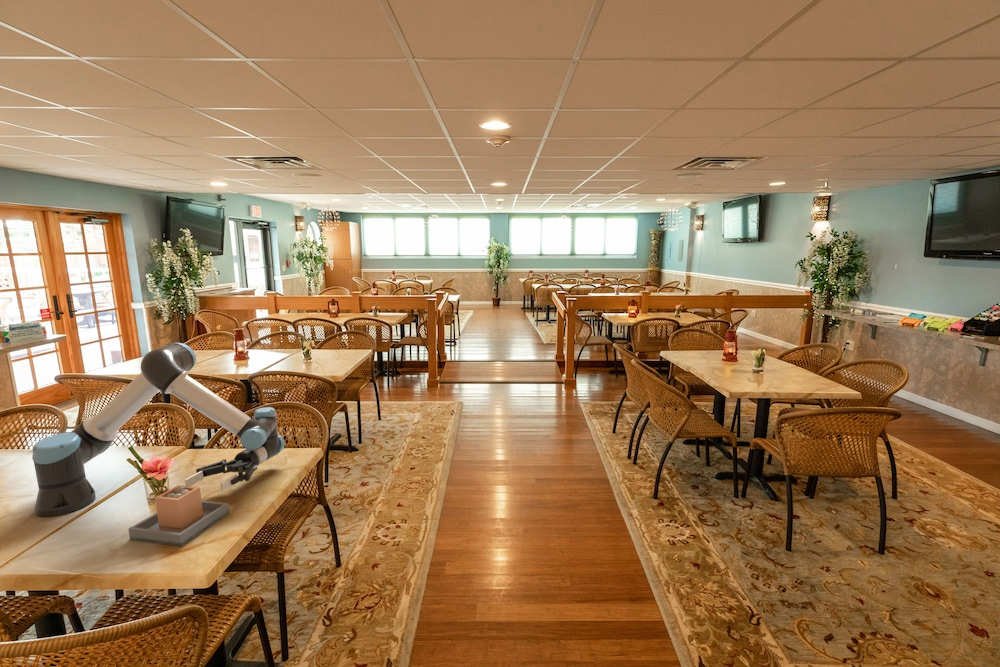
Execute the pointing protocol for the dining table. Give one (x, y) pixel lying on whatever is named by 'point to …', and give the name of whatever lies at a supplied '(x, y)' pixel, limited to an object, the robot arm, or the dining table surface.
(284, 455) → the dining table surface
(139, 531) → the slate dish
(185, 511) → the peach box
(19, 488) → the dining table surface
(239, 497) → the dining table surface
